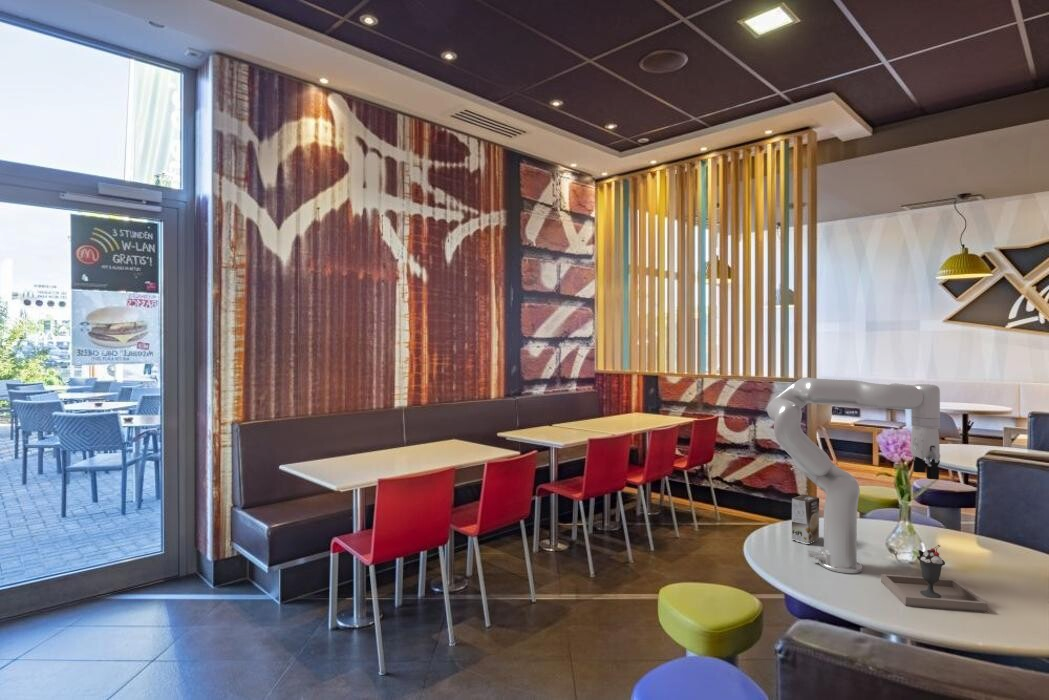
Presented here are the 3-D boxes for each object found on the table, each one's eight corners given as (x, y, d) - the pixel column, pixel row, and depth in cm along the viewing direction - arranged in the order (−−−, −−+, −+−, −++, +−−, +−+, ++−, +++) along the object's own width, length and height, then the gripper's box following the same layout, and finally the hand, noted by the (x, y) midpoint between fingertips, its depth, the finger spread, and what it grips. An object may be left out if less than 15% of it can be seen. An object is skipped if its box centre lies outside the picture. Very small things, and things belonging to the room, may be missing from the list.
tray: (905, 606, 156) (905, 597, 156) (881, 582, 172) (881, 574, 172) (987, 612, 152) (987, 603, 152) (954, 587, 168) (954, 579, 168)
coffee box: (808, 545, 203) (808, 501, 203) (791, 540, 208) (791, 498, 208) (819, 540, 209) (819, 497, 209) (802, 535, 214) (802, 493, 214)
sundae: (950, 600, 158) (950, 548, 158) (923, 598, 159) (923, 546, 159) (937, 590, 164) (938, 540, 164) (912, 588, 166) (912, 538, 166)
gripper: (901, 418, 189) (901, 469, 189) (924, 426, 172) (924, 481, 172) (926, 419, 187) (927, 470, 187) (952, 426, 170) (952, 482, 170)
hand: (925, 475), depth 180 cm, fingers open, 9 cm apart
